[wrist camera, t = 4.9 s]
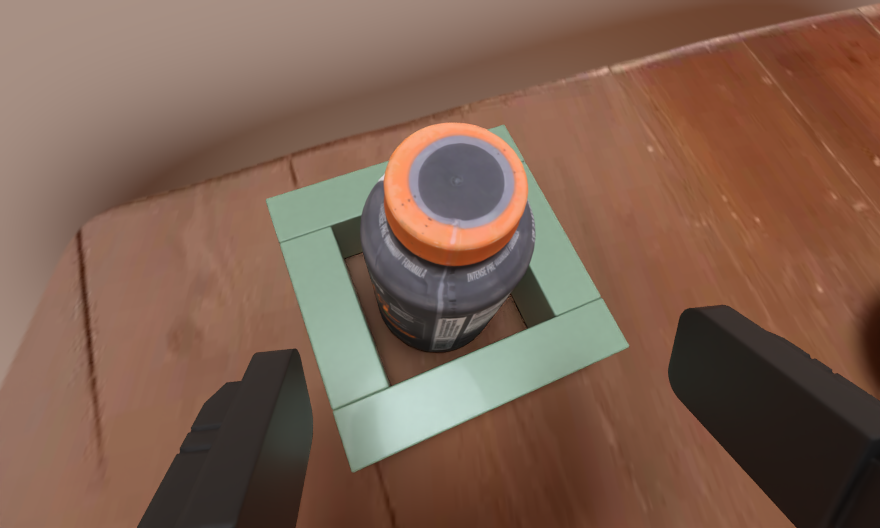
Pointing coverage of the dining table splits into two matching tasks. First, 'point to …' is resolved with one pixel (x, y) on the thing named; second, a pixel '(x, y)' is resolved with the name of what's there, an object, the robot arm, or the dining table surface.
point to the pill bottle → (447, 234)
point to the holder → (454, 383)
